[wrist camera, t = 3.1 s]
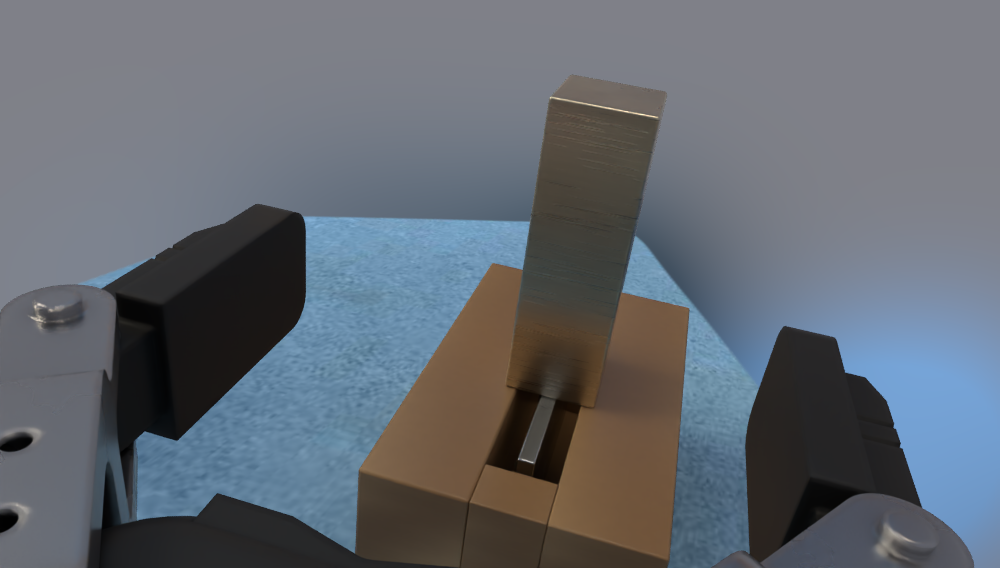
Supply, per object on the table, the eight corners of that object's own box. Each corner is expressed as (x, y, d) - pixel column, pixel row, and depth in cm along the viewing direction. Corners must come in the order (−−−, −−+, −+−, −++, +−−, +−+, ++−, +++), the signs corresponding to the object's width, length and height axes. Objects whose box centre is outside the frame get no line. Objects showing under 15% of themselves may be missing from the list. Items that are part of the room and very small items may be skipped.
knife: (459, 574, 23) (521, 126, 16) (525, 404, 30) (586, 55, 24) (548, 601, 22) (650, 152, 16) (593, 422, 30) (674, 71, 23)
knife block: (351, 623, 22) (357, 469, 19) (476, 381, 33) (492, 261, 30) (619, 712, 21) (670, 559, 18) (655, 428, 32) (689, 307, 29)
